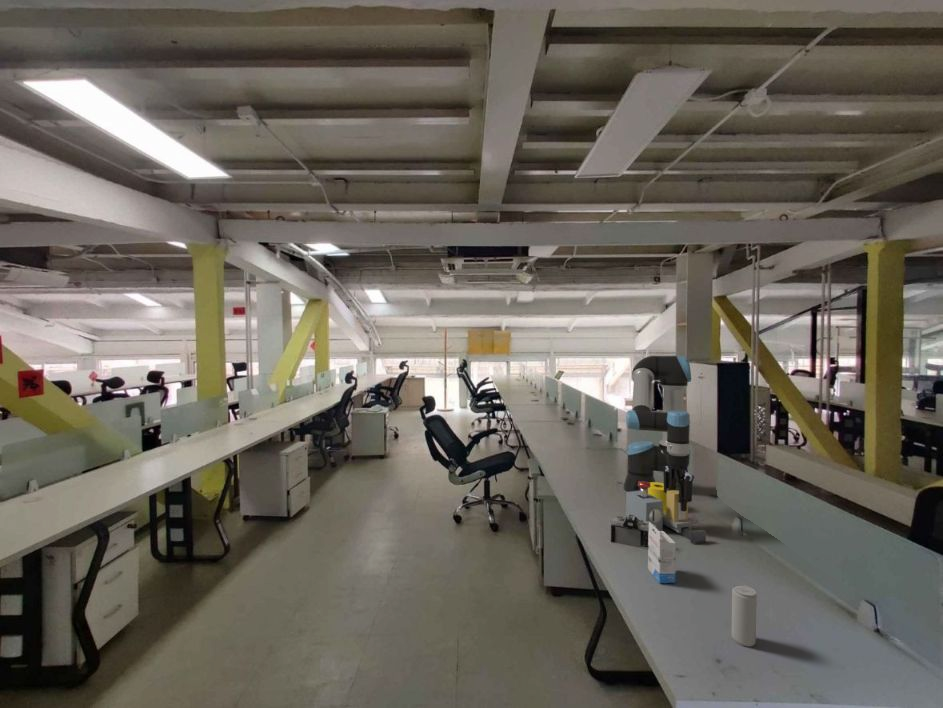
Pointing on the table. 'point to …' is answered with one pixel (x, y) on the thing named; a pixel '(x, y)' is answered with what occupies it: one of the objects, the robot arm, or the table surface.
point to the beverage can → (744, 615)
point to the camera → (630, 531)
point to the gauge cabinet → (645, 508)
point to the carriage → (675, 513)
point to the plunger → (643, 489)
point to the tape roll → (658, 493)
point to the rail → (693, 535)
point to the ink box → (661, 555)
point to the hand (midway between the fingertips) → (677, 516)
